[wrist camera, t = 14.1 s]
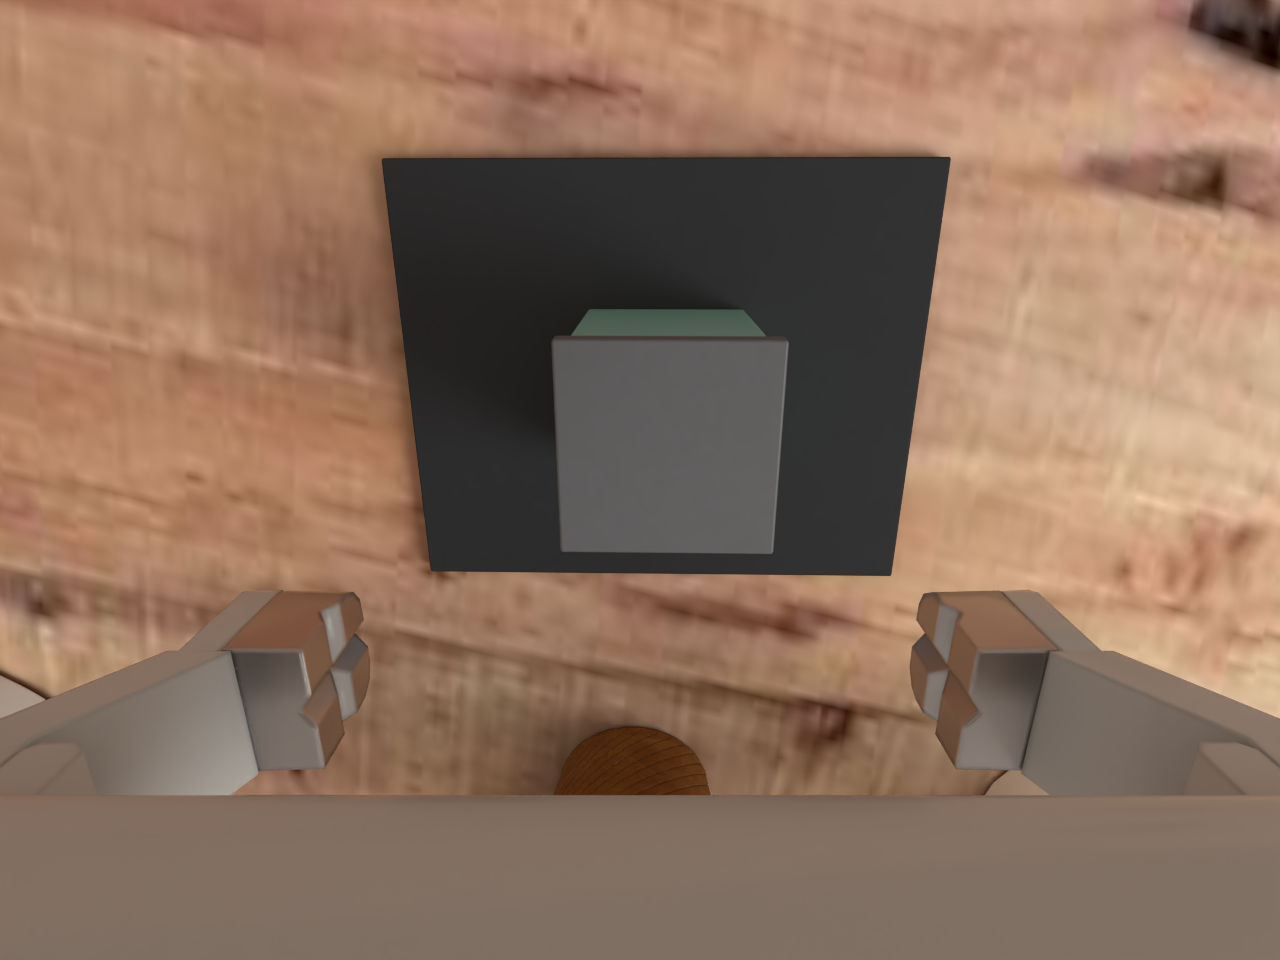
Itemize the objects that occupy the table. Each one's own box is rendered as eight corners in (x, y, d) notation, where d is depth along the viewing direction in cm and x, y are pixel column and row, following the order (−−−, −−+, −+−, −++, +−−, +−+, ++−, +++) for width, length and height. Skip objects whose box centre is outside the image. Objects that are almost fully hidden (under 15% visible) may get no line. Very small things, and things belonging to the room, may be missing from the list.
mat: (434, 565, 27) (430, 571, 26) (386, 159, 22) (380, 158, 21) (887, 570, 26) (891, 576, 26) (945, 157, 21) (951, 156, 21)
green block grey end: (586, 461, 24) (560, 553, 18) (581, 302, 22) (550, 339, 16) (742, 462, 24) (773, 555, 18) (751, 302, 22) (789, 340, 16)
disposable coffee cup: (479, 750, 30) (372, 1077, 18) (677, 658, 28) (692, 960, 17) (596, 894, 32) (564, 1253, 21) (783, 818, 31) (855, 1169, 19)
